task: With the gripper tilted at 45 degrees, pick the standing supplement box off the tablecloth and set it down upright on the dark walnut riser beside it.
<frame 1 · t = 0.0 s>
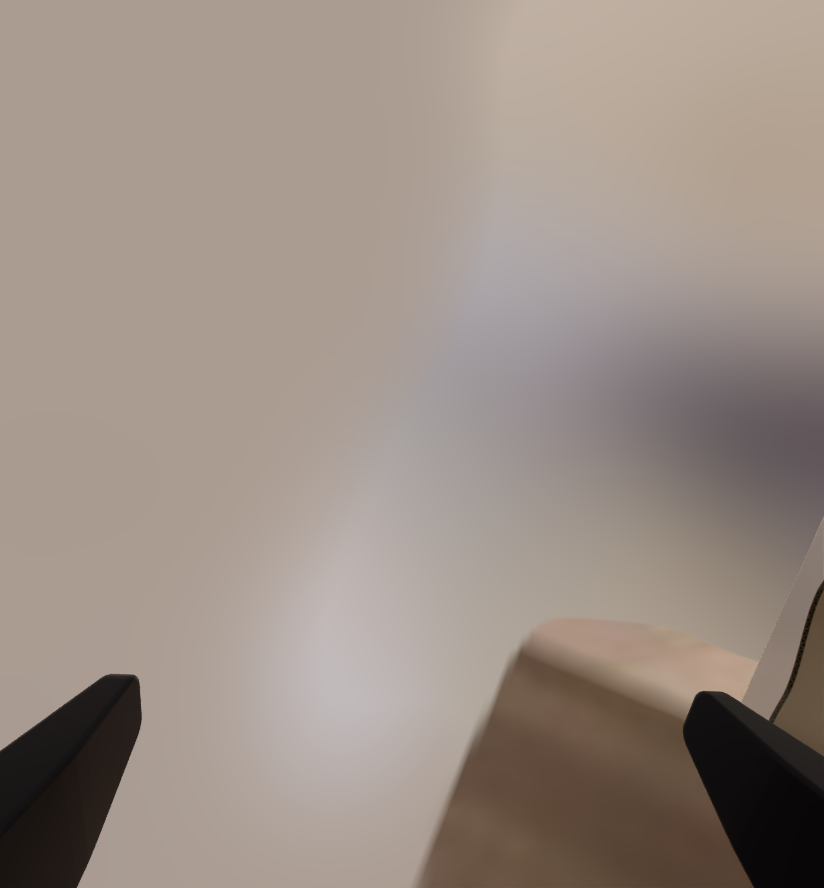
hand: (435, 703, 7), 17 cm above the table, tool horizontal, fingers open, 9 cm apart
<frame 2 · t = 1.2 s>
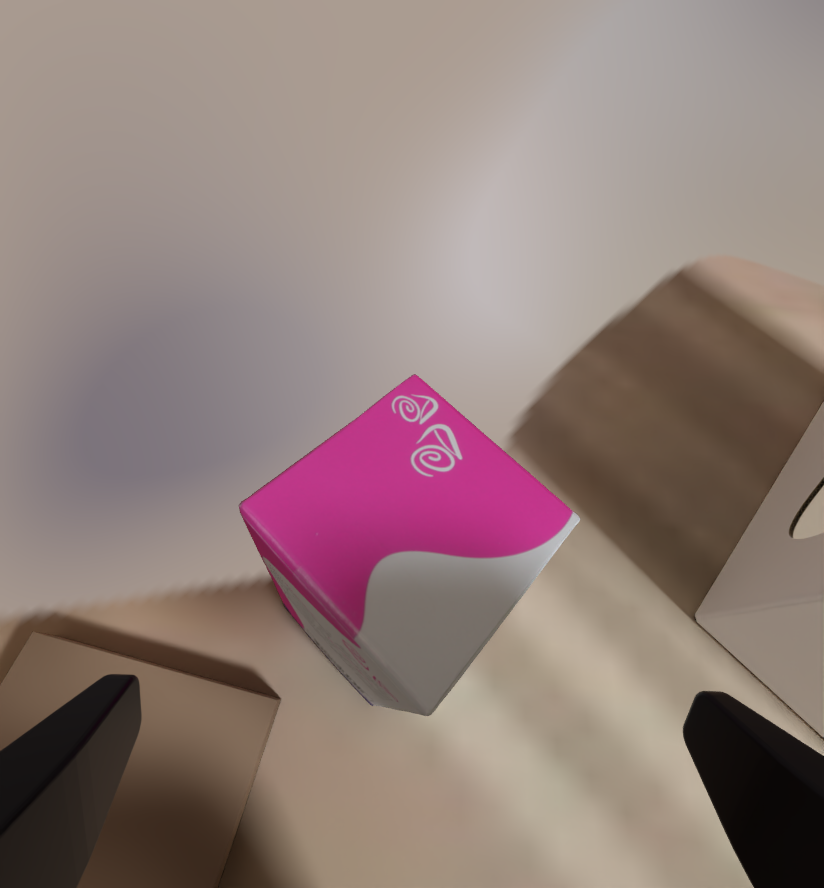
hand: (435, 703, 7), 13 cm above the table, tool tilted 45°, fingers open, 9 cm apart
supplement box: (374, 600, 20), on the table
walnut riser: (103, 810, 16), on the table
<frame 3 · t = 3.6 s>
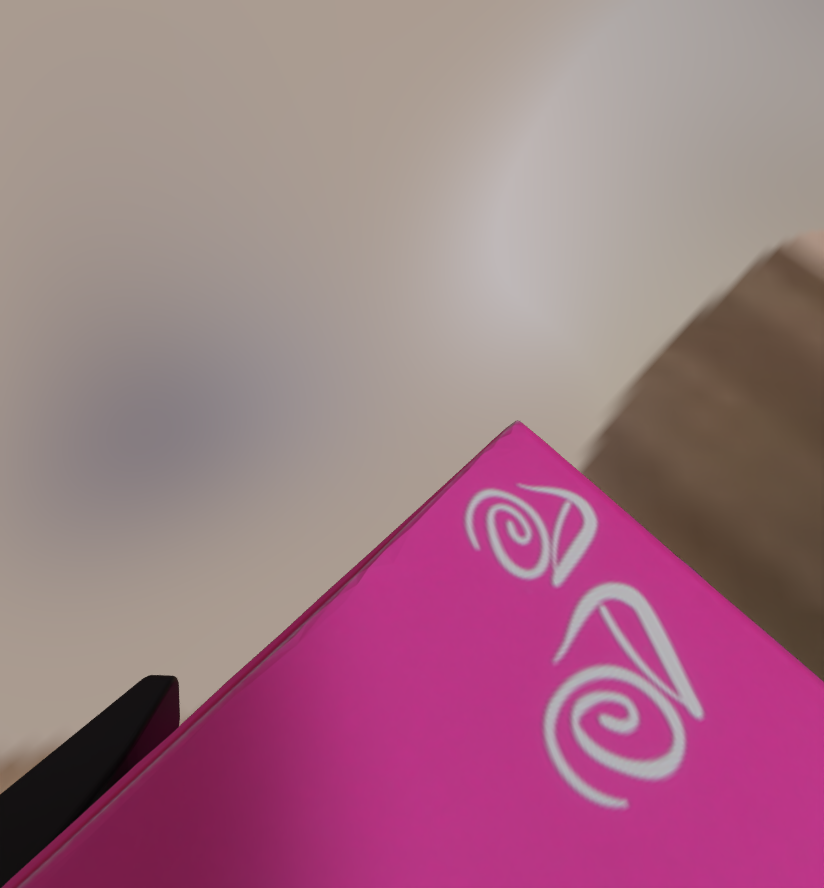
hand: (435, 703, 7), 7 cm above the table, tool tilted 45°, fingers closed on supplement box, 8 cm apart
supplement box: (385, 749, 13), on the table, touching gripper
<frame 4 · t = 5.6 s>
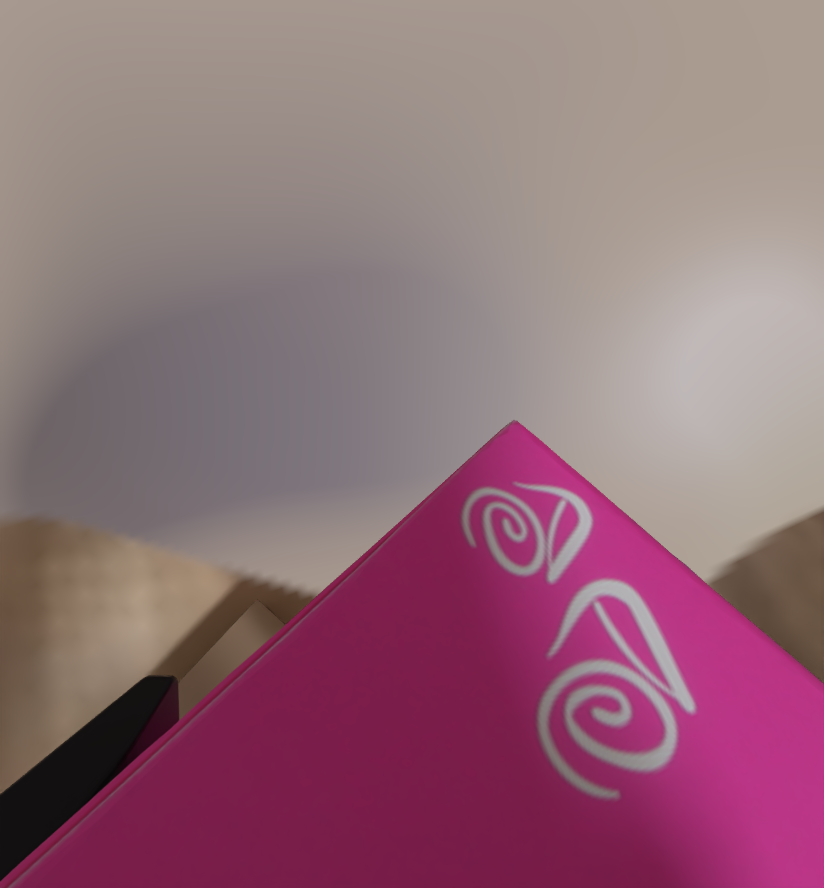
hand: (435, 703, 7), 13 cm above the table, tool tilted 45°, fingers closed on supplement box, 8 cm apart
supplement box: (388, 746, 13), point 6 cm above the table, touching gripper
walnut riser: (258, 781, 17), on the table
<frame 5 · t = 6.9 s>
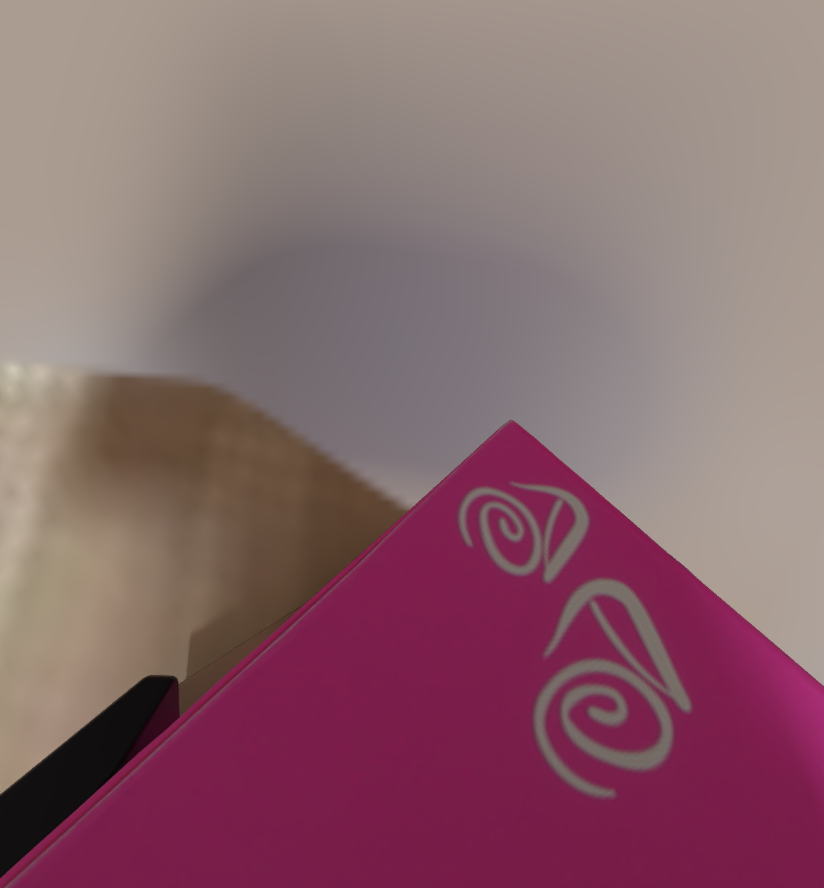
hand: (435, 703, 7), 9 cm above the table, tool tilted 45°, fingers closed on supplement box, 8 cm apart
supplement box: (387, 746, 13), point 2 cm above the table, touching gripper
walnut riser: (379, 727, 15), on the table
when the fingers open (9 cm above the table, at t = 8.0 s): supplement box stays where it is, resting on walnut riser.
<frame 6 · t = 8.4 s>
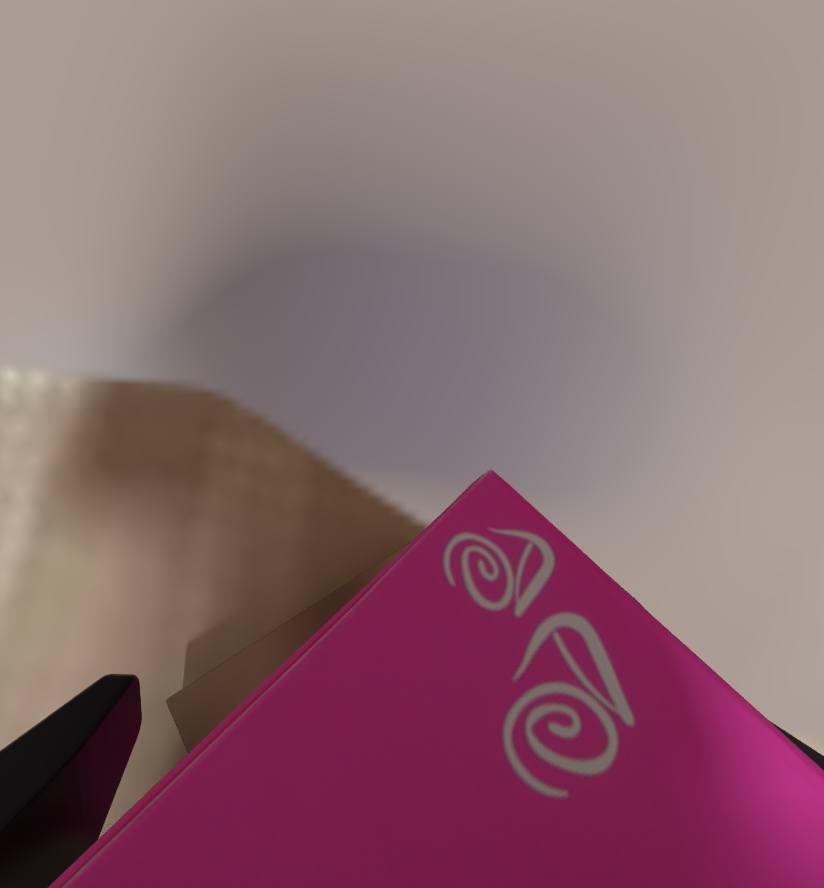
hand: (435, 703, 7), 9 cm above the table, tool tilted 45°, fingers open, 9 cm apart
supplement box: (382, 748, 13), point 1 cm above the table, touching walnut riser
walnut riser: (379, 738, 15), on the table
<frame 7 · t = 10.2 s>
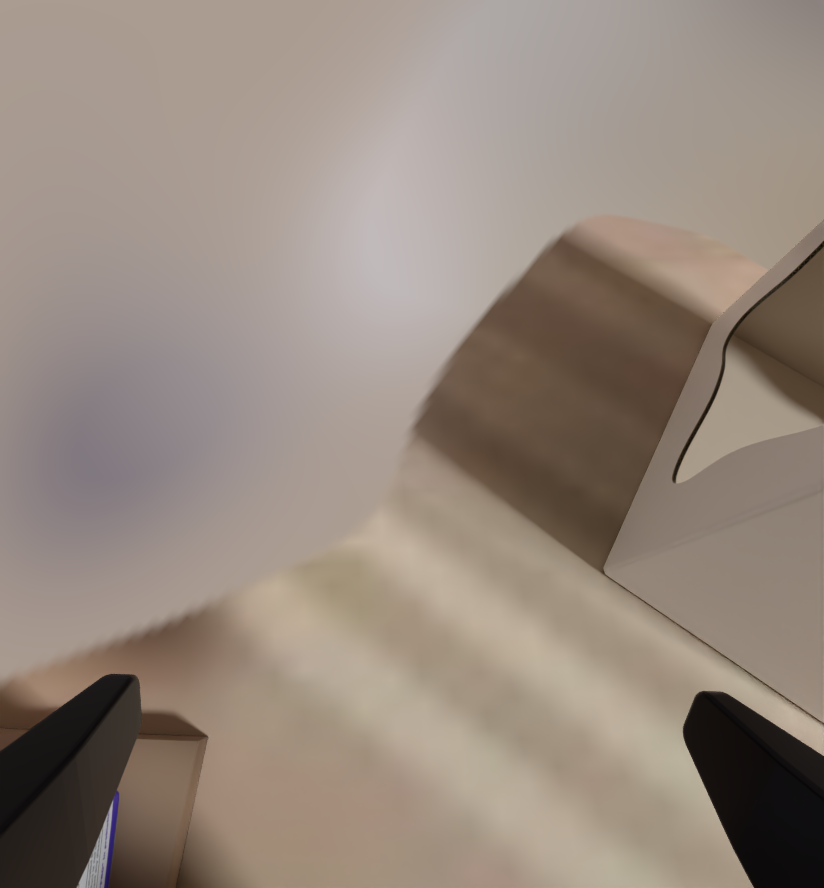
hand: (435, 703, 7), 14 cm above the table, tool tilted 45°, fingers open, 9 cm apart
gable box: (761, 489, 27), on the table
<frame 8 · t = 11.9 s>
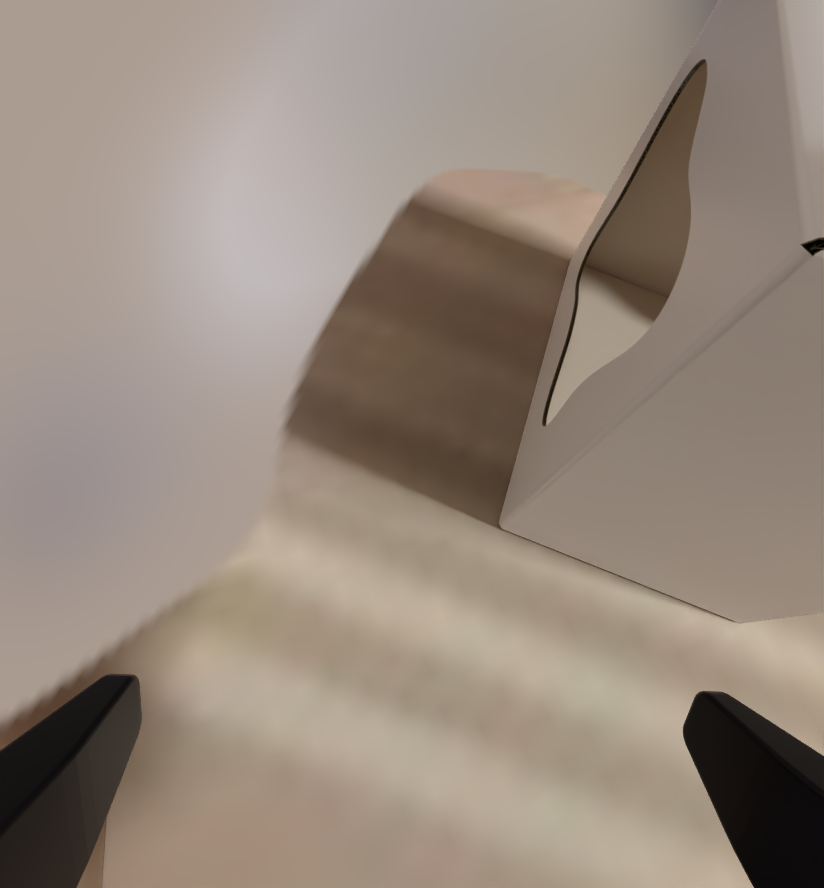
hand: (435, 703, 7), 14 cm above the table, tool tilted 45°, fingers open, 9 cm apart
gable box: (637, 410, 29), on the table
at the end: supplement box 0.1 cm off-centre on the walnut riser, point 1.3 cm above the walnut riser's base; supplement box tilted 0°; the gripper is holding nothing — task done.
